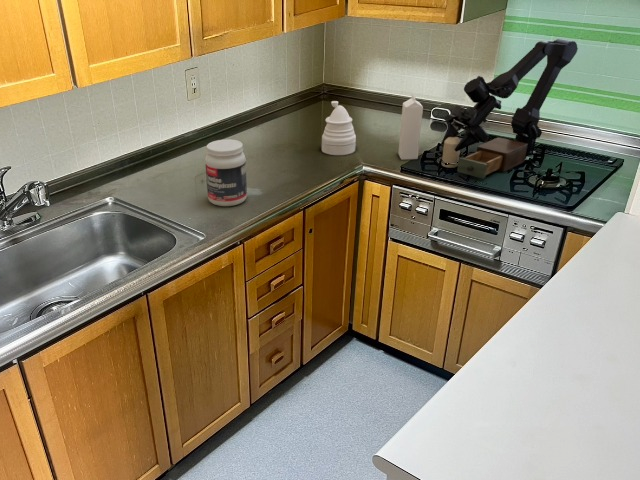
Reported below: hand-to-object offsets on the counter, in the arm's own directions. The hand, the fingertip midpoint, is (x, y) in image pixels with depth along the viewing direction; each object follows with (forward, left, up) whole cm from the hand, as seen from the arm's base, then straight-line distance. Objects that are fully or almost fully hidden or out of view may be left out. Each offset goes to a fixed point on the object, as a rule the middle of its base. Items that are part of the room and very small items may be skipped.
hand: (448, 147), depth 217 cm
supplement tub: (+79, +10, -7) cm, 80 cm away
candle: (-1, 0, -7) cm, 7 cm away
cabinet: (-18, +3, -7) cm, 20 cm away
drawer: (-7, +10, -6) cm, 13 cm away
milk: (+9, -13, -7) cm, 17 cm away
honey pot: (+31, -28, -7) cm, 42 cm away
